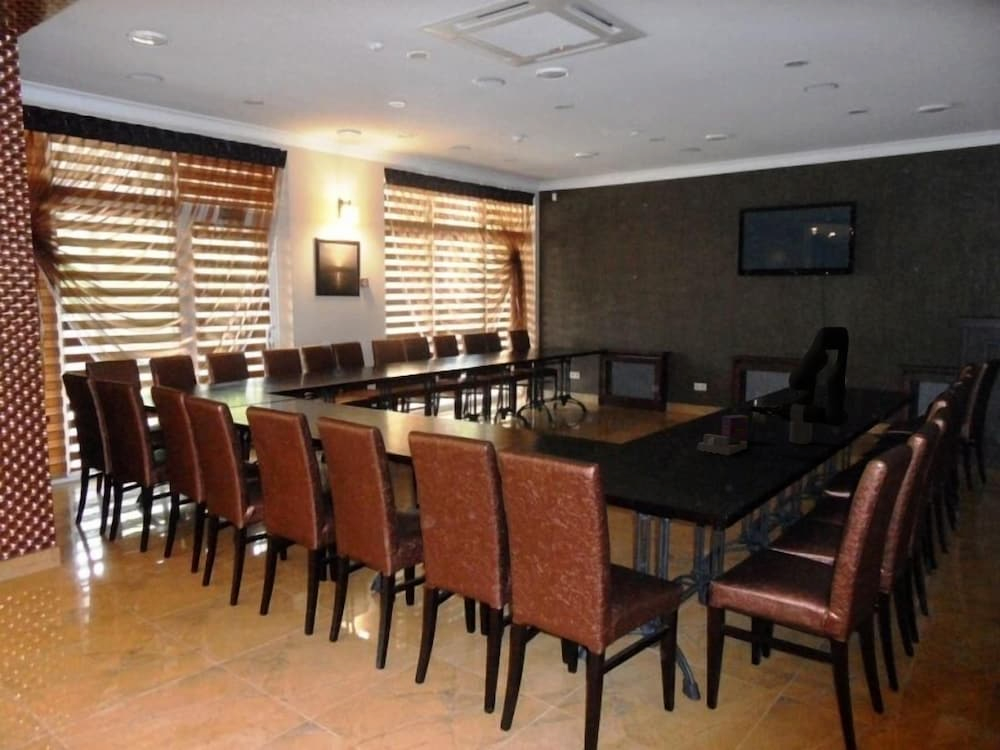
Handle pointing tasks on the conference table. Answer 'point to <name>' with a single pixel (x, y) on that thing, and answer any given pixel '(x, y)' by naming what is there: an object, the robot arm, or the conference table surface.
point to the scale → (721, 444)
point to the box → (735, 426)
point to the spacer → (756, 416)
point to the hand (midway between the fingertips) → (753, 408)
